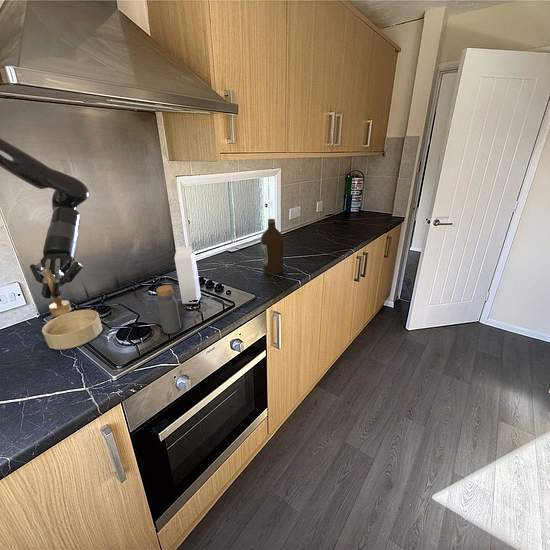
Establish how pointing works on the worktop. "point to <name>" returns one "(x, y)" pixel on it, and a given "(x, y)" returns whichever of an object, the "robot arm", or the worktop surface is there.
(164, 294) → the bottle
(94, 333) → the bowl
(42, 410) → the worktop surface
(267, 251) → the olive oil
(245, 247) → the worktop surface
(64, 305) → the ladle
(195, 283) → the milk
